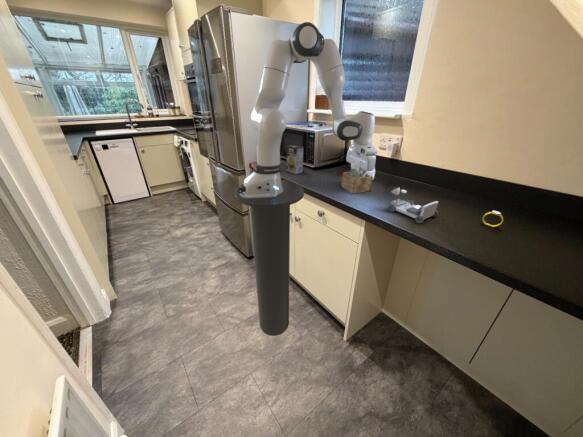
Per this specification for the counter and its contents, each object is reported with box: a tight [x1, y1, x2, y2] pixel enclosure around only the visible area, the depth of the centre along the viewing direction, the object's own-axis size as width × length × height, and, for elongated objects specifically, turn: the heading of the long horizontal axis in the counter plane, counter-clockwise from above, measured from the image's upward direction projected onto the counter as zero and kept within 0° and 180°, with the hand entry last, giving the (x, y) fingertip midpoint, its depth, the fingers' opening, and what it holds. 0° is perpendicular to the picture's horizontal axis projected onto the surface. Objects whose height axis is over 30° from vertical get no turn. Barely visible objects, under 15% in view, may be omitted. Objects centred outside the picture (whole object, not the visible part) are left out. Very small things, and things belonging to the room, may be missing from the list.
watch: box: [481, 210, 504, 228], centre depth 90 cm, size 6×3×6 cm, turn 48°
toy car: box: [388, 186, 439, 224], centre depth 98 cm, size 18×10×12 cm
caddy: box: [340, 171, 374, 194], centre depth 123 cm, size 11×11×8 cm
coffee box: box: [286, 144, 304, 175], centre depth 148 cm, size 9×6×16 cm
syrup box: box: [349, 158, 365, 178], centre depth 121 cm, size 6×6×14 cm
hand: (357, 174), depth 121 cm, fingers closed on syrup box, 6 cm apart
